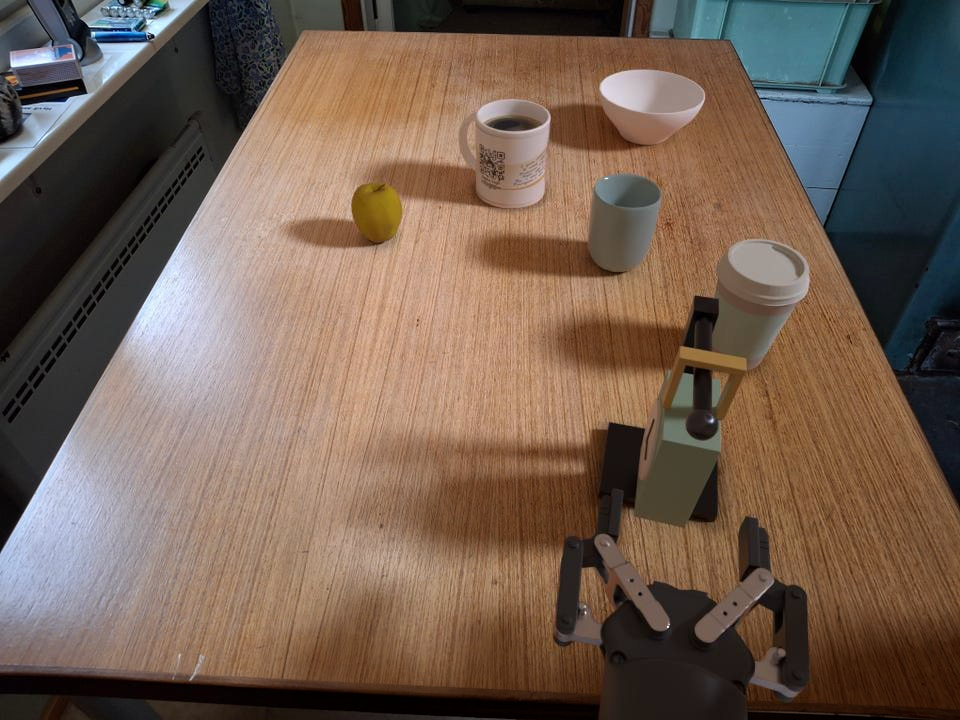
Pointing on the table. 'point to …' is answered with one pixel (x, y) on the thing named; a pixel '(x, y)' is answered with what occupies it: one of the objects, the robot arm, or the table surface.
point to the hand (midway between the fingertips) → (680, 509)
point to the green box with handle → (682, 439)
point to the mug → (508, 152)
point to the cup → (622, 220)
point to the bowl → (649, 103)
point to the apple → (376, 211)
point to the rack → (699, 423)
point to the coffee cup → (756, 296)
